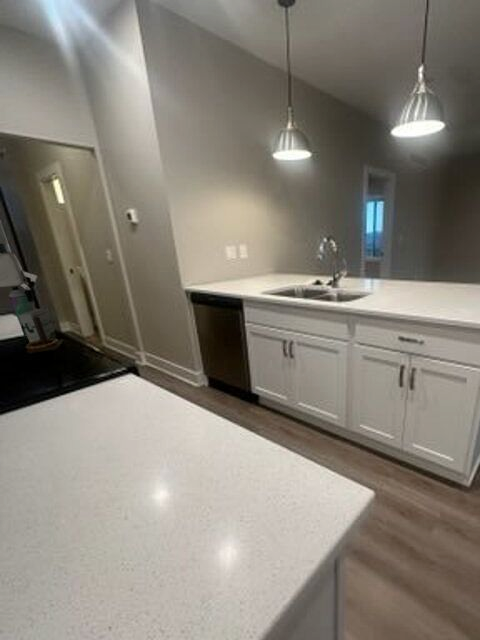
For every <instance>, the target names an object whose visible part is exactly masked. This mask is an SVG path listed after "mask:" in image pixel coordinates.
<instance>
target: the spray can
mask: <svg viewBox="0 0 480 640" xmlns="http://www.w3.org/2000/svg"><path fill="white" fill-rule="evenodd" d="M18 286H19V285H18ZM18 286H11V288H12V289H11V291H10V292H8V297H9V300H10V302H11V305H12V307H13V310H14V313H15V315H16V318H17V320H18V323H19V326H20V329H21V332H22V333H23V336H24V337H25V336H27V334H26V332H25V329H24V327H23V324H22V322H21V319H20V317H19V315H20V314H23V313H26V312H29V311H32V310H33V307H32V306H31V302H28V300H27V297H26V294H25V290H22V289H21V288H19V287H18Z"/></svg>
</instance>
